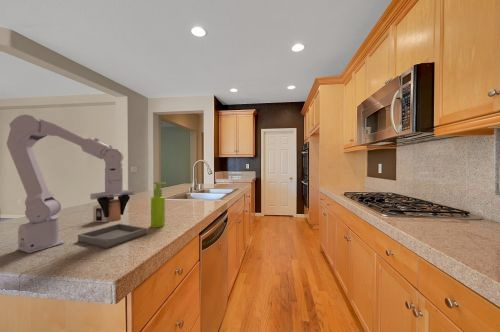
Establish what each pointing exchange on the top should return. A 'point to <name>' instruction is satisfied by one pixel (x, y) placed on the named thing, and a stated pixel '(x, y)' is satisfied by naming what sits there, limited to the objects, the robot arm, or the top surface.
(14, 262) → the top surface
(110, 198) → the container
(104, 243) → the tray
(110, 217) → the spice jar
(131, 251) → the top surface
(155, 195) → the soap dispenser
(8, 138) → the robot arm
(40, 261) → the top surface
